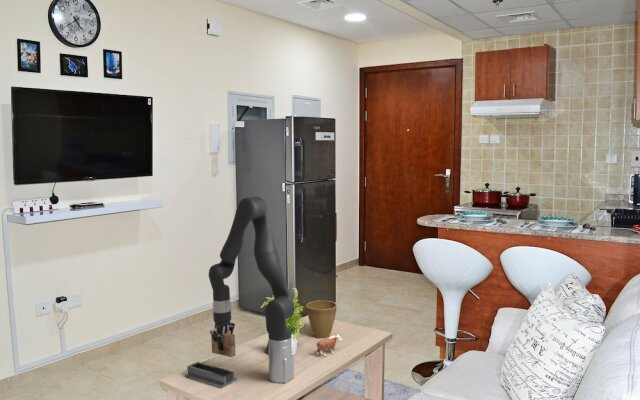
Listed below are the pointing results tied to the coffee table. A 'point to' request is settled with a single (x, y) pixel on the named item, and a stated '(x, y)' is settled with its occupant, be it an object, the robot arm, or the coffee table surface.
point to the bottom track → (210, 374)
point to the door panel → (225, 345)
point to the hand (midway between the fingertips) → (223, 349)
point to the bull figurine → (328, 344)
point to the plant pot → (321, 317)
